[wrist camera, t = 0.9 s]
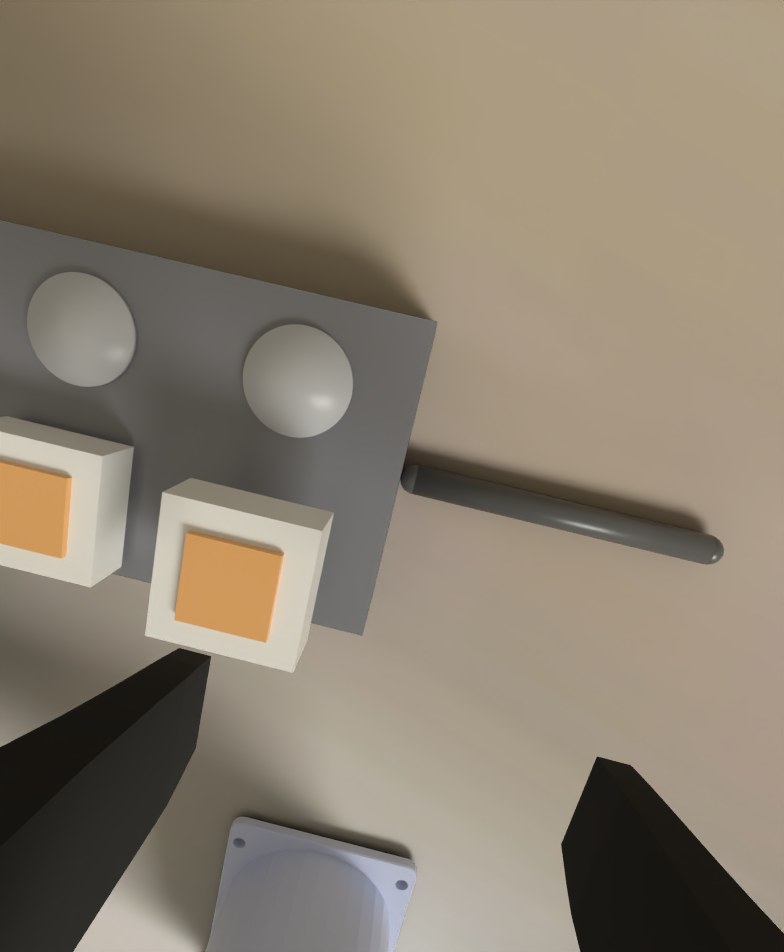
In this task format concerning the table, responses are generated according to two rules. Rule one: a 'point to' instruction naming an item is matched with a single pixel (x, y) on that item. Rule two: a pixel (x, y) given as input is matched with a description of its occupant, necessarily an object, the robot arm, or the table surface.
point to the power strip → (248, 401)
